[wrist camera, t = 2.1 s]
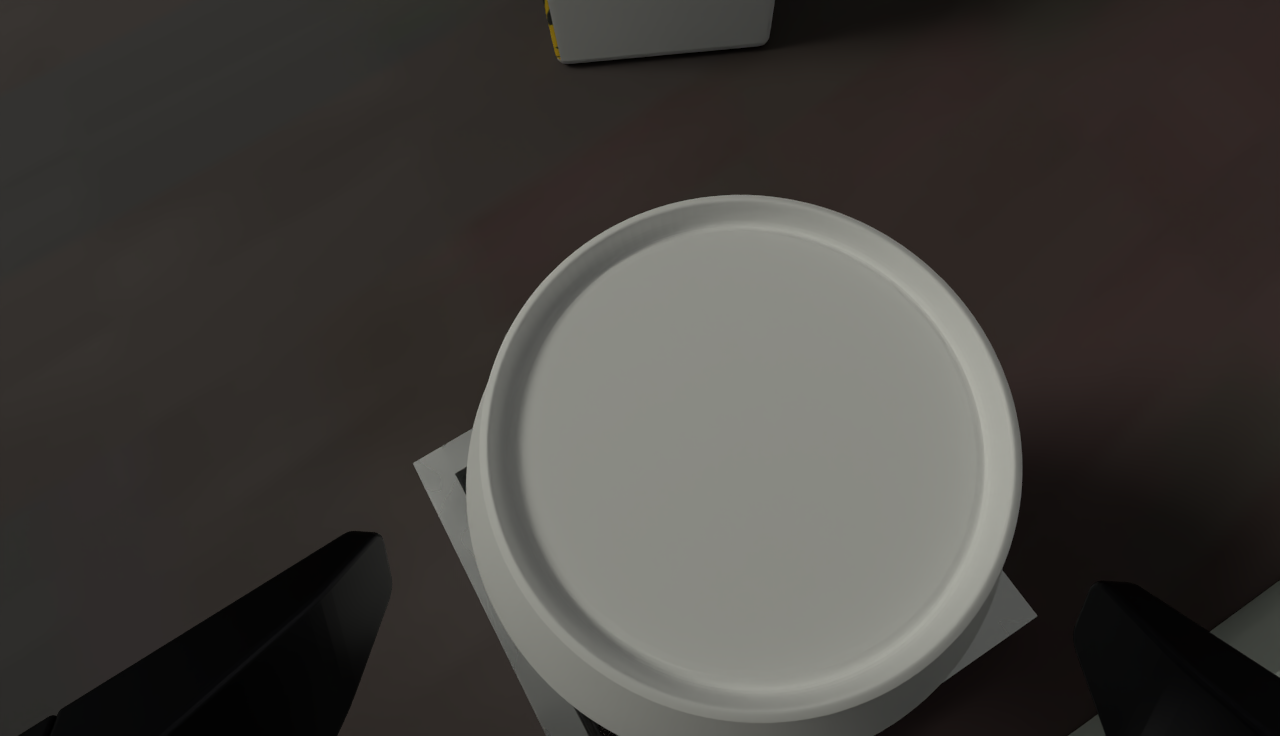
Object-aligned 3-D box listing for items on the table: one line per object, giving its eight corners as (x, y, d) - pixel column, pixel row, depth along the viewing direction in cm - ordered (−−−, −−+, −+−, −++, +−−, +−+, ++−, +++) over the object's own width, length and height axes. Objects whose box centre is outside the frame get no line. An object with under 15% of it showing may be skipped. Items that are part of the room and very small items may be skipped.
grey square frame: (1006, 614, 16) (1037, 615, 15) (633, 875, 15) (628, 903, 14) (757, 283, 20) (763, 258, 18) (433, 474, 18) (412, 463, 17)
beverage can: (878, 561, 17) (1266, 478, 6) (686, 729, 16) (697, 1029, 5) (718, 379, 19) (771, 42, 8) (537, 520, 18) (286, 376, 7)
